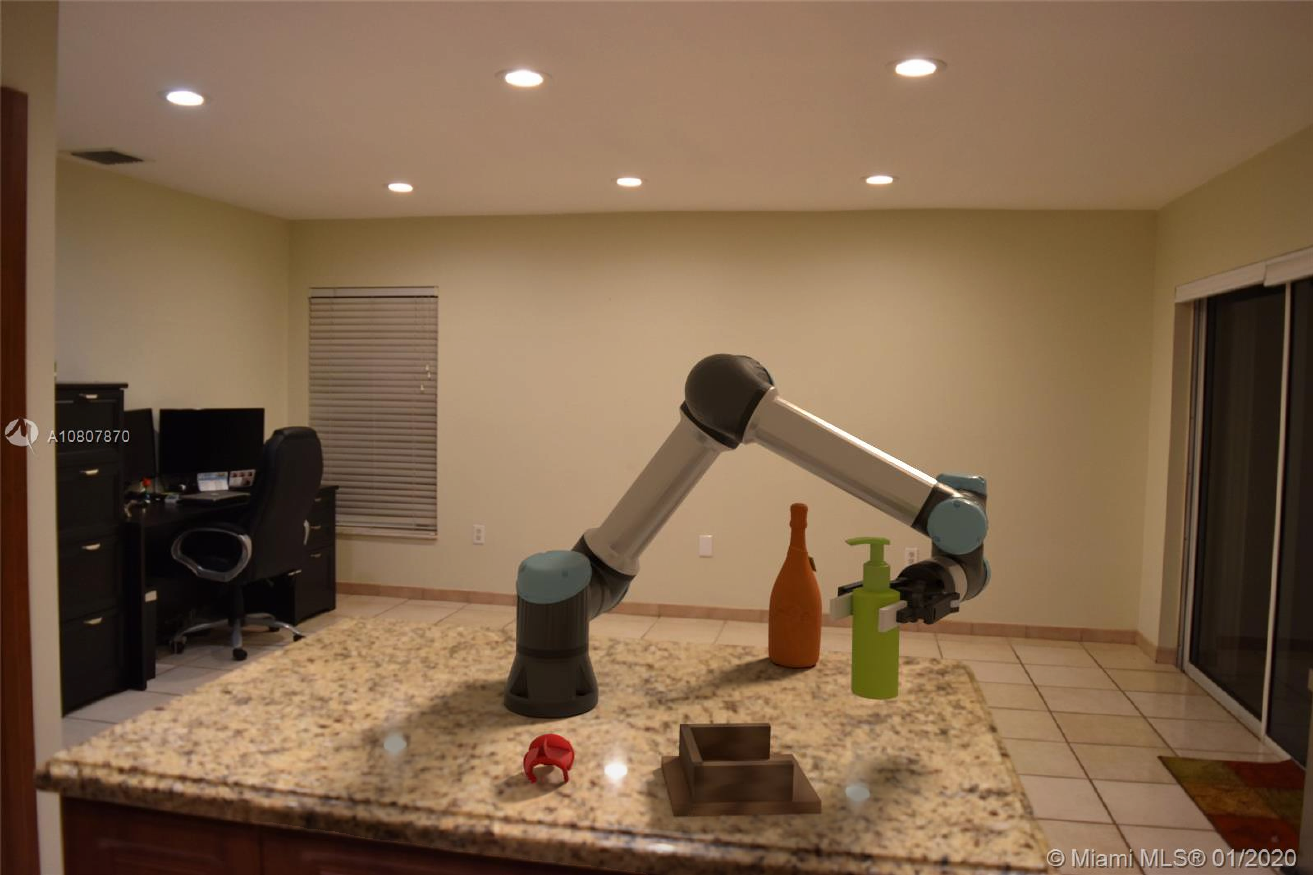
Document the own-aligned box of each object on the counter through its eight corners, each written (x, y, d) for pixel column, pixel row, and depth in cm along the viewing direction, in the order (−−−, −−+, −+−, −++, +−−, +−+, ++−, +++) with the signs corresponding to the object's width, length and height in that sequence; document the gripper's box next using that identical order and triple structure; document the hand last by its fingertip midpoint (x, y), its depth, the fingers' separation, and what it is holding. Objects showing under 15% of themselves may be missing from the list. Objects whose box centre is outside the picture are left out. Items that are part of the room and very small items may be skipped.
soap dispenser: (837, 685, 119) (840, 534, 118) (889, 684, 120) (891, 534, 119) (851, 700, 113) (853, 541, 112) (904, 699, 114) (907, 541, 113)
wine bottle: (819, 672, 164) (825, 508, 163) (765, 667, 166) (770, 505, 165) (820, 656, 174) (826, 501, 172) (769, 652, 176) (774, 498, 174)
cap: (580, 766, 114) (584, 726, 119) (535, 753, 113) (541, 714, 117) (558, 800, 118) (562, 761, 123) (514, 789, 117) (521, 749, 122)
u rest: (673, 816, 108) (675, 767, 108) (661, 766, 122) (662, 723, 122) (821, 813, 110) (822, 765, 110) (791, 764, 124) (793, 721, 123)
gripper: (995, 625, 124) (928, 662, 106) (868, 600, 136) (788, 630, 118) (998, 571, 124) (932, 599, 106) (870, 551, 135) (791, 573, 117)
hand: (856, 615), depth 112 cm, fingers closed on soap dispenser, 6 cm apart
